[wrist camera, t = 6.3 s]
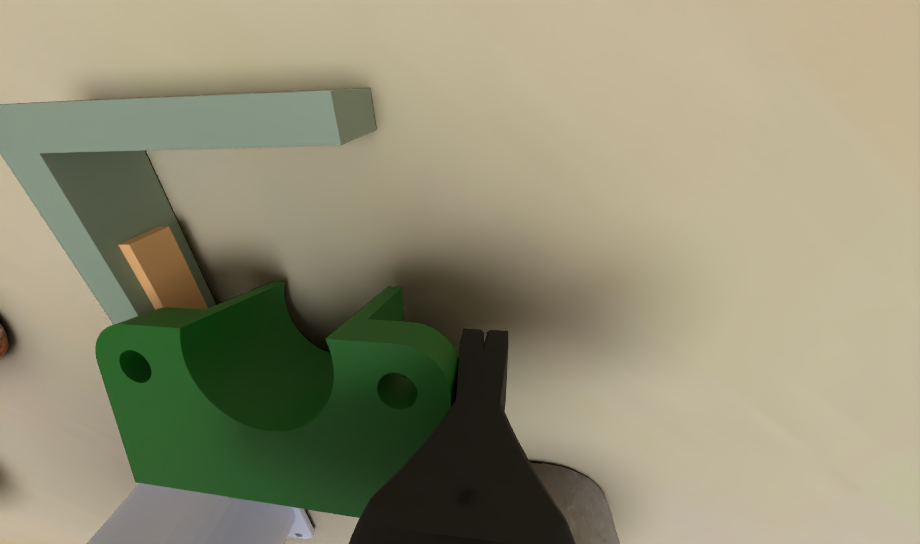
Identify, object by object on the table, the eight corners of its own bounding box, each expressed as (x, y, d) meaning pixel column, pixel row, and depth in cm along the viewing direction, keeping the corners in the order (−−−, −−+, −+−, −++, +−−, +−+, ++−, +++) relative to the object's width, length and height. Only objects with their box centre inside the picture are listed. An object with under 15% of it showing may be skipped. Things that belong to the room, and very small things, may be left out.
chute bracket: (262, 445, 20) (229, 499, 18) (87, 100, 11) (-32, 106, 9) (423, 454, 20) (412, 512, 17) (370, 88, 11) (330, 90, 8)
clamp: (445, 261, 17) (516, 339, 9) (447, 366, 19) (509, 518, 10) (170, 279, 15) (-109, 417, 6) (199, 400, 16) (9, 644, 8)
